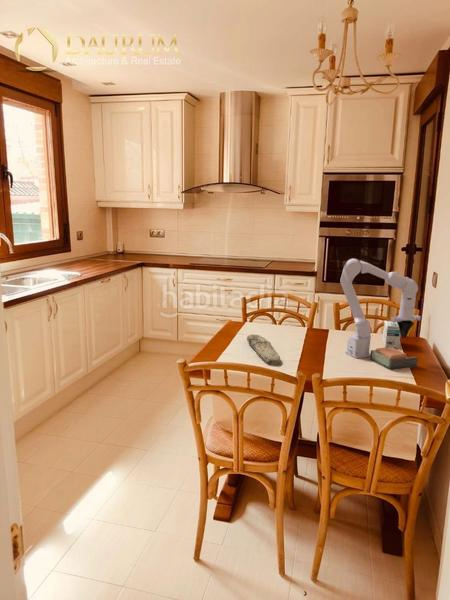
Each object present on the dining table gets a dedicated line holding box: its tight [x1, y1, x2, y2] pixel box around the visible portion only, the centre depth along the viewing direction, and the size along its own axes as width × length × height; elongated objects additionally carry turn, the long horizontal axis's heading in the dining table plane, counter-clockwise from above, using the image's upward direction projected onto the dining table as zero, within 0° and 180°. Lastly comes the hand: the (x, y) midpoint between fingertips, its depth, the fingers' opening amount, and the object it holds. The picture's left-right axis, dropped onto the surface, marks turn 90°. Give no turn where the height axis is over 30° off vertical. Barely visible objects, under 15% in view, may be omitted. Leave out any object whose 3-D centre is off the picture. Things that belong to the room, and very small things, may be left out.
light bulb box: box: [382, 320, 402, 349], centre depth 211 cm, size 11×7×11 cm, turn 168°
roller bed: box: [369, 348, 419, 371], centre depth 186 cm, size 14×13×5 cm
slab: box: [375, 347, 407, 360], centre depth 185 cm, size 8×9×2 cm
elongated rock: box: [246, 334, 281, 366], centre depth 196 cm, size 35×5×10 cm
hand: (403, 336), depth 190 cm, fingers closed
